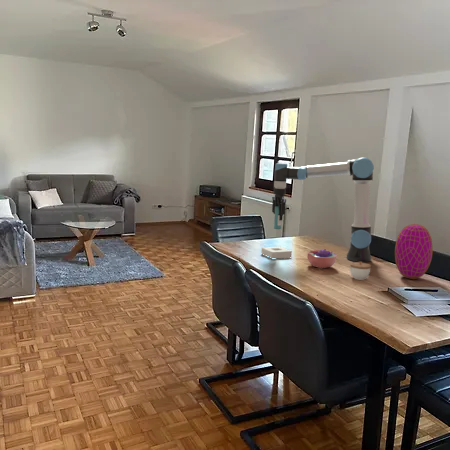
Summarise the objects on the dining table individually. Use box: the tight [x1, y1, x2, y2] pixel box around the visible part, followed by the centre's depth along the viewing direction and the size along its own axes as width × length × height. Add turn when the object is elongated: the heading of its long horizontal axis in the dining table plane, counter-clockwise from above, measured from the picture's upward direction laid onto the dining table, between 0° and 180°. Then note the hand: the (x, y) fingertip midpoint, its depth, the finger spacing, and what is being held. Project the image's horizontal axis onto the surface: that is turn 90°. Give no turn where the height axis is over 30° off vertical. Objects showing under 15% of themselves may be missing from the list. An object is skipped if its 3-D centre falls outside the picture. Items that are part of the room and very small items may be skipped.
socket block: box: [261, 246, 293, 259], centre depth 302 cm, size 14×14×4 cm
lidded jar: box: [349, 261, 372, 281], centre depth 256 cm, size 11×11×9 cm
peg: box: [273, 206, 282, 230], centre depth 298 cm, size 4×4×14 cm
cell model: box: [306, 248, 338, 269], centre depth 277 cm, size 17×20×11 cm
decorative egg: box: [394, 223, 433, 280], centre depth 258 cm, size 19×19×30 cm
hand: (277, 224), depth 299 cm, fingers closed on peg, 4 cm apart
